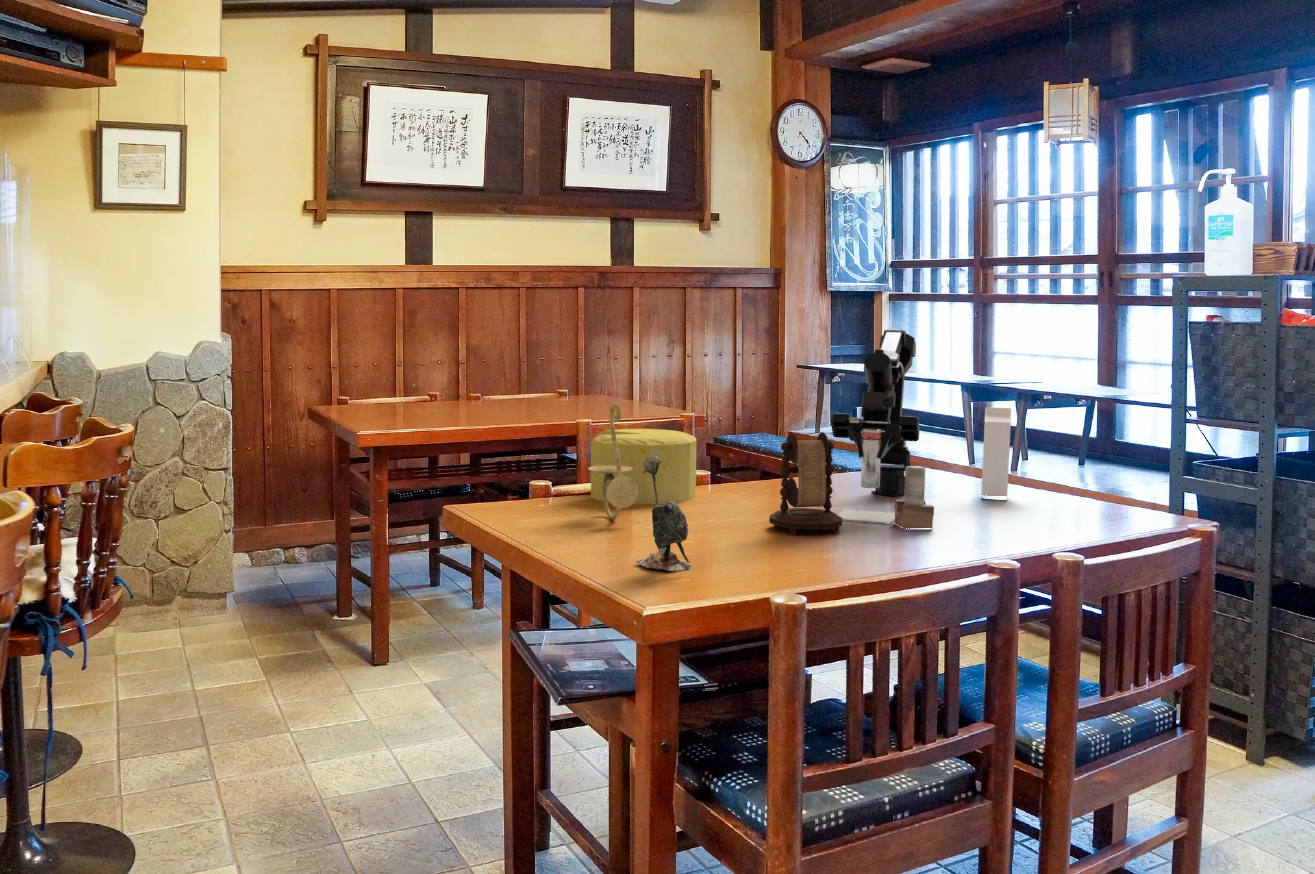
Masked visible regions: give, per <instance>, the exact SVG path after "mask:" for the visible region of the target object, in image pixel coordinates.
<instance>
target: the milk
mask: <svg viewBox="0 0 1315 874" xmlns="http://www.w3.org/2000/svg"><path fill="white" fill-rule="evenodd" d="M1011 423H1012V409H1011V408H1010V407H989V406H986V407H985V409H984V427H983V428H984V429H983V447H982V449H983V450H982V451H983V452H982V453H983V454H982V472H981V490H980V491H981V492H980V493H981V495H984V496H985V495H987V496H1007V497H1008V489H1009V488H1008V487H1009V486H1008V485H1009V484H1008V483H1009V464H1010V444H1011V427H1012V426H1011ZM981 495H980V496H981Z"/></svg>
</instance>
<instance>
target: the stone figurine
mask: <svg viewBox="0 0 1315 874" xmlns="http://www.w3.org/2000/svg"><path fill="white" fill-rule="evenodd" d="M643 463H644V464H643V465H644V467H645V470H644V472H643V474H645V473H646V472H648V473H650V474H652V479H653V484H654V488H655V498H656V504H655V505H654V507H652V509H651V510H652V511H651V514H652V515H651V521H652V522H651V523H652V536H653V537H654V544H655V545H656V547H657V549H658V551H652V552H650V553H649V555H648V557H647V558H643V559H640V560H636V563H637V564H639V565H640V566H643V567H645V568H646V569H654V570H659V571H661V570H664V571H670V572H674V573H676V572H679V571H681V572H682V571H686V570H688V569H690V567H692V565H691V564H689V563H690V562H691V561H690V559H689V558H688V556H687V555H686V553H685V549H684V546H683V544H682V542H685V541H686V540H687V539H688V534H689V530H688V529H689V528H688V526H689V524H688V523H687V517H686V515H685V513H684V511H683V510H682V509H681V507H680V506H679V505H678V504H677V503H678V502H677V503H675V502H674V501H669V502H662V503H658V501H657V491H656V486H655V483H656V478H655V475H656V474H657V471H658V468H659V464H660V463H661V462H660V460H659V458H658V457H657V456H656V455H655V454H653V453H649V454H648V456H647V457H646V460H645V461H644V462H643ZM672 544H676V545H677V546H678V548H679V550H680V553H681V555H682V556H683V558H684V560H685V561H686V562H684V561H683V560H680V559H679V558H678V556H677V554H676V553H675V552H673V551H672V550H671V546H672Z"/></svg>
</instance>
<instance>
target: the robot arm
mask: <svg viewBox="0 0 1315 874" xmlns="http://www.w3.org/2000/svg"><path fill="white" fill-rule="evenodd" d="M916 345H917V344H916V339H915V337H913V336H912V335H911V334H908V333H907V332H906V330H905V329H903V328H887V329H884V331H883V335H881V336H880V338H879V348H878V349H874V353H871V354H869V355H867V356H866V357H865V359H864V360H863V365H864V366H863V374H864V375H865V382H866V385H867V386H868V387H867V391H863V392H862V399H861V400H862V401H861V411H860V413H861V414H860V415H861V418H862V419H861V418H860V417H851V413H843V412H842V413H841V412H838V413H837V412H835V413H833V414H832V415H831V417H830V426H831V431H832V437H834V438H836V439H837V438H839V439H849V441H851V442H854V444H855V447H856V450H857V454H858V458H859V459H862V431H863V429H864V428H876V429H881V432H882V437H881V449H880V455H879V457H880V459H881V460H880V487H879V488H874V490H871V492H870V493H871V494H875V495H880V496H881V495H882V496H886V497H887V496H888V497H898V496H902V495H903V494H904V495H905V469H906V466H912V464H911V452H910V451H909V447H908V445H907V442H917V441H919V439H920V421H919V420H920V419H919V418H918V417H917V416H915V415H913V416H912V415H902V413H903V404H904V403H903V402H904V391H905V390H904V389H905V375H906V374H907V373H908V371H910V368H911V367H912V365H913V359H914V358H915V357H916V352H917V350H916V349H917V346H916ZM904 495H903V496H904Z"/></svg>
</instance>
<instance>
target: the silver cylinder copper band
mask: <svg viewBox="0 0 1315 874" xmlns="http://www.w3.org/2000/svg"><path fill="white" fill-rule="evenodd" d="M881 437H882V432H881V429H876V428H864V429H863V431H862V457H861V466H860V467H861V468H860V469H861V470H860V472H861V473H860V487H861V488H865V489H875V488H879V487H880V465H881V464H880V460H881V459H880V457H879V455H880V449H881Z"/></svg>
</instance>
